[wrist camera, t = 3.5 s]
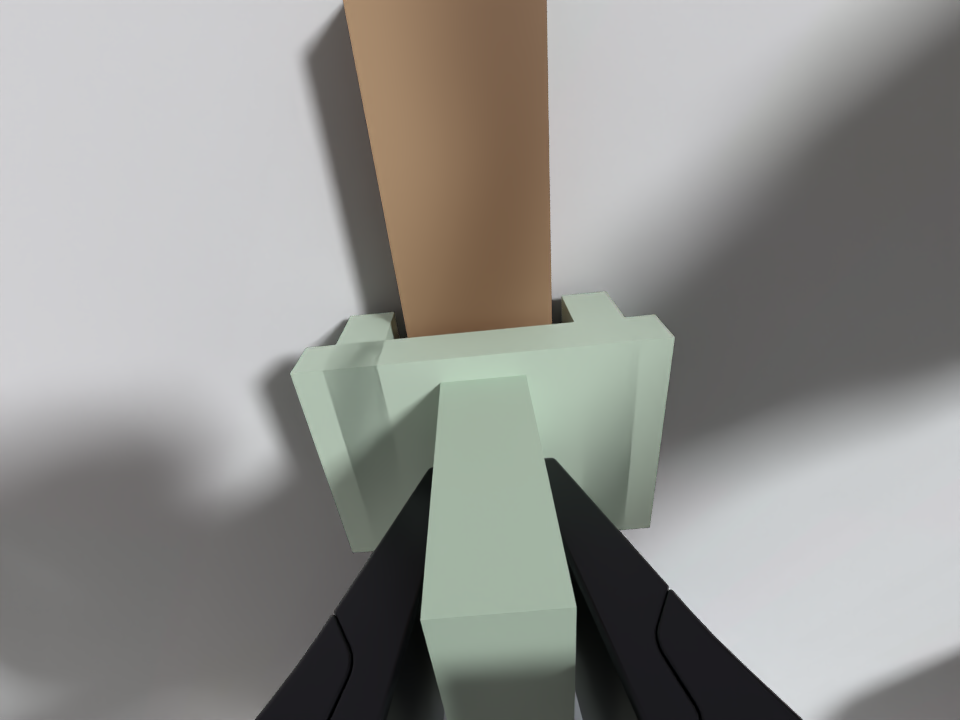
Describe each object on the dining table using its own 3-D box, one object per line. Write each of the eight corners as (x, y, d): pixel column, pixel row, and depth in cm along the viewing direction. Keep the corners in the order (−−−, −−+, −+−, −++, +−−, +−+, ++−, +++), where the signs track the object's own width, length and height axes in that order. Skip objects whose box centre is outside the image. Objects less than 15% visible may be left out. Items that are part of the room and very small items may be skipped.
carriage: (632, 288, 10) (861, 553, 4) (619, 457, 13) (755, 772, 7) (324, 318, 11) (139, 612, 5) (370, 479, 13) (290, 807, 7)
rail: (532, -35, 8) (545, -59, 7) (550, 606, 17) (556, 646, 15) (356, -14, 8) (336, -35, 7) (467, 613, 17) (468, 653, 16)
